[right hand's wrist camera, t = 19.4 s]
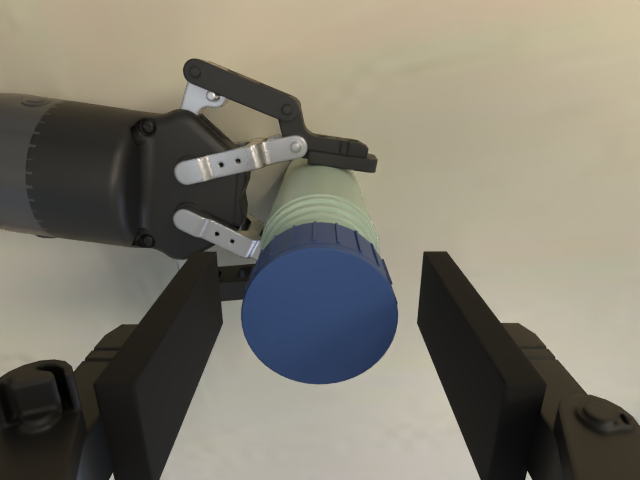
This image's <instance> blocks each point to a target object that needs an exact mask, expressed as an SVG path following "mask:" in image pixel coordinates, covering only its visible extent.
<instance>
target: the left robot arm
mask: <svg viewBox="0 0 640 480" xmlns="http://www.w3.org/2000/svg"><path fill="white" fill-rule="evenodd" d="M183 73H184V77H185V78H186V80H187V81H188V82H187V86H186V89H185V93H184V97H183V101H182V104H181V108H180V109H177V110H173V111H171V112H169V113H166V114H156V113H149V112H142V111H135V110H128V109H121V108H115V107H108V106H101V105H94V104H87V103H80V102H74V101H66V100H59V99H53V98H46V97H39V96H33V95H25V94H7V93H0V229H2V230H7V231H13V232H19V233H26V234H34V235H36V236H38V237H42V238H64V239H72V240H79V241H88V242H95V243H103V244H110V245H118V246H125V247H135V248H153V249H156V250H159V251H161V252H163V253H165V254H166V255H168V256H169V257H171V258H173V259H177V263H178V268H179V270H180V269H181V267H182V266H183V265H184V263H185V262H186V261H187V259H188V258H189V257H190V255H191V254H192V253H193V252H203V251H205V250H207V249H209V248H211V247H212V246H214V245H218V246H220V247H222V248H224V249H226V250H228V251H230V252H232V253H234V254H236V255H238V256H240V257H243V258H253V259H255V260H258V257H259V254H260V243H261V237H262V234H263V230H264V228H265V225H264V224H263V223H262V222H261V221H259V220H258V219H256V218H254V217H252V216H250V215H248V214H247V207H248V203H247V197H246V188H247V185H248V182H249V180H250V172H251V170H255V169H259V168H262V167H265V166H267V165H271V164H276V163H280V162H285V161H290V160H294V159H299V158H304V159H308V162H307V164H313V165H320V166H328V167H334V168H341V169H348V170H355V171H362V172H370V173H374V172H375V171H376V165H377V160H378V159H377V158H376V157H375V155H372V154H368V147H367V146H366V145H365V144H363V143H362V142H360V141H358V140H354V139H346V138H339V137H333V136H326V135H319V134H314V133H312V132H310V131H309V130H308V129H307V128H306V126H305V124H304V119H303V115H302V110H301V103H300V101H299V100H298V99H297V98H296V97H294V96H292V95H289V94H287V93H284V92H282V91H280V90H277V89H275V88H272V87H270V86H268V85H265V84H263V83H260V82H258V81H256V80H253V79H251V78H248V77H246V76H244V75H241V74H239V73H236V72H234V71H231V70H229V69H227V68H224V67H222V66H219V65H217V64H215V63H212V62H209V61H205V60H200V59H190V60H188V61H187V62H186V63H185V65H184V68H183ZM229 99H230V100H232V101H235V102H237V103H240V104H242V105H245V106H247V107H250V108H252V109H255V110H257V111H259V112H262V113H264V114H267V115H269V116H272V117H274V118H277V119H278V120H279V124H280V129H281V133H282V134H279V135H274V136H270V137H262V138H257V139H253V140H248V141H244V142H239V143H235V144H234V143H233V142H232V141H231V140H230V139H228V138H227V137H226V136H225V135H224V134H223V133H222V132H221V131H220V130H219V129H218V128H217V127H215V126H214V125H213V124H212V123H211V122H210V121H209V120H208V119H207V118H206V117H205V116H204V115H202V112H203V110H204V109H205V108H206V107H212V108H218V107H222V106H225V105H226V104H227V103H228V101H229ZM232 239H233V240H232ZM255 265H256V264H246V265H234V266H223V267H218V276H219V286H220V297H221V301H230V300H241V299H244V296H245V293H244V290H245V287H246V284H247V282H248V279H249V276H250V273H251V271H252V268H253V266H254V267H255Z"/></svg>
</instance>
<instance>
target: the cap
mask: <svg viewBox="0 0 640 480" xmlns="http://www.w3.org/2000/svg"><path fill="white" fill-rule="evenodd" d="M391 284H392V281H391V278H390V276H389V273H388V270H387V267H386V265H385V262H384V259H382V260H381V257H380V255H379V254H378V252H377V251H376V249H375V247H374V244H373V243H370V242H369V241H368V240H367V239H365V238H364V237H363V236H362V235H360V234H359V233H358V231H356V230H355V231H354V230H352V229H350V228H347V227H344V226H342V225H338V223H335V224H334V223H326V222H316V221H314V222H312V223H305V224H301V225H298V226H295V225H294V226H293V227H292V228H290V229H288V230H286V231H284V232H282V233H281V234H279V235H278V236H277V235H275V236H274V239H273V240H271V242H270V243H269V244H268V245H267V246H266V247H265V248H264V250H263V249H261V251H260V254H259V257H258V260H257V262H256V265H255V267H254V266H253V268H252V271H251V273H250V276H249V279H248V282H247V284H246V287H245V290H244V293H245V296H244V299H243V304H242V310H241V320H242V328H243V331H244V335H245V338H246V340H247V342H248V344H249V346H250V348H251V349H252V351H253V352H254V354H255V355H256V356H257V357H258V359H259V360H260V361H262V362H263V363H264V364H265V365H266V366H267V367H269V368H270V369H271V370H273V371H274V372H276V373H278V374H279V375H281V376H284V377H286V378H288V379H291V380H294V381H298V382H303V383H308V384H330V383H337V382H341V381H345V380H348V379H351V378H353V377H356V376H358V375H360V374H362V373H363V372H365V371H366V370H368V369H369V368H371V367H372V366H373V365H374V364H376V363H377V362H378V361H379V360H380V359H381V357H382V356H383V355H384V354H385V353H386V351H387V350H388V348H389V346H390V344H391V342H392V341H393V338H394V335H395V332H396V328H397V323H398V309H397V300H396V297H395V294H394V292H393V289H392V286H391Z"/></svg>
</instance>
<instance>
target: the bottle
mask: <svg viewBox="0 0 640 480" xmlns="http://www.w3.org/2000/svg"><path fill="white" fill-rule="evenodd" d="M307 162H308V159H304V158H299V159H294V160H292V161H291V163H290V164H289V166H288V168H287V171H286V173H285V176H284V179H283V181H282V184H281V186H280V189H279V192H278V194H277V197H276V199H275V202H274V205H273V207H272V210H271V212H270V215H269V218H268V220H267V223H266V225H265V228H264V230H263V234H262V237H261V243H260V251H261V249H263V250H264V248H265V247H266V246H267V245H268V244H269V243H270V242H271V240H273V239H274V236H275V235H277V236H278V235H279V234H281V233H282V232H284V231H286V230H288V229H290V228H292V227H293V226H294V225H295V226H298V225H301V224H305V223H312V222H314V221H316V222H326V223H334V224H335V223H338V225H342V226H344V227H347V228H350V229H352V230H354V231H355V230H356V231H358V233H359V234H360V235H362V236H363V237H364V238H365V239H367V240H368V241H369V242H370V243H373V244H374V247H375V249H376V251H377V252H378V254H379V241H378V236H377V233H376V230H375V227H374V224H373V222H372V219H371V217H370V214H369V211H368V209H367V206H366V203H365V201H364V198H363V196H362V193H361V190H360V188H359V185H358V183H357V180H356V177H355V175H354V172H353V170H348V169H341V168H334V167H328V166H320V165H313V164H307Z"/></svg>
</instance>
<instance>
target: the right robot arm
mask: <svg viewBox="0 0 640 480" xmlns="http://www.w3.org/2000/svg"><path fill="white" fill-rule="evenodd" d="M222 324H223V319H222V308H221V297H220V286H219V276H218V265H217V254H216V252H193V253H192V254H191V255H190V257H189V258H188V259H187V261H186V262H185V263H184V265H183V266H182V267H181V269H180V270H179V271H178V273H177V274H176V275H175V277H174V278H173V279H172V280H171V282H170V283H169V284H168V286H167V287H166V288H165V290H164V291H163V292H162V294H161V295H160V296H159V298H158V299H157V300H156V302H155V303H154V304H153V306H152V307H151V308H150V310H149V311H148V312H147V314H146V315H145V316H144V317H143V319H142V320H141V321H140V323H139V324H122V325H120V326H119V327H117V328H116V329H114V330H113V331H111V332H109V333H108V334H106V335H105V336H104V337H103V338H102V339H101V341H100V342H99V343H98V344H97V345H96V346H95V348H94V351H91V352H90V353H89V355H88V356H87V357H86V358H85V361H83V362H82V363H81V364H80V365H79V366H78V367H77V369H76V370H75V371H74V372H73V369H72V366H71V365H69V364H68V363H67V362H66V361H60V360H42V361H37V362H33V363H30V364H26V365H23V366H21V367H18V368H16V369H14V370H12V371H10V372H8V373H6V374H5V375H3V376H2V377H0V480H109V479H110V477H111V475H112V473H113V474H114V478H115V480H159V479H160V477H161V474H162V472H163V469H164V467H165V464H166V462H167V459H168V457H169V455H170V452H171V450H172V447H173V445H174V442H175V440H176V437H177V435H178V432H179V430H180V427H181V425H182V423H183V420H184V418H185V415H186V413H187V410H188V408H189V405H190V403H191V400H192V398H193V395H194V393H195V391H196V388H197V386H198V383H199V381H200V378H201V376H202V373H203V371H204V368H205V366H206V364H207V361H208V359H209V356H210V354H211V351H212V349H213V346H214V344H215V341H216V339H217V336H218V334H219V332H220V329H221V327H222ZM417 324H418V327H419V329H420V332H421V334H422V336H423V339H424V341H425V344H426V346H427V349H428V351H429V354H430V356H431V359H432V361H433V364H434V366H435V368H436V371H437V373H438V376H439V378H440V381H441V383H442V386H443V388H444V391H445V393H446V395H447V398H448V400H449V403H450V405H451V408H452V410H453V413H454V415H455V418H456V420H457V423H458V425H459V427H460V430H461V432H462V435H463V437H464V440H465V442H466V445H467V447H468V450H469V452H470V455H471V457H472V459H473V462H474V464H475V467H476V469H477V472H478V474H479V477H480V479H481V480H525V478H526V474H527V471H528V473H529V474H530V476H531V478H532V480H640V426H639V424H638V423H637V422H636V420H635V419H634V417H633V416H631V415H630V414H629V413H627V412H626V411H625V410H624V409H622V408H621V407H619V406H617V405H615V404H614V403H612V402H610V401H608V400H606V399H602V398H599V397H596V396H593V395H587V393H586V392H585V391H584V390H583V389H582V388H581V386H580V385H579V384H578V383H577V382H576V381H575V379H574V378H573V377H572V376H571V375H570V374H569V372H568V371H567V370H566V369H565V368H564V367H563V366H562V364H561V363H560V362H559V361H558V360H556V359H555V356H554V355H553V354H552V353H551V352H550V350H549V349H546V346H545V345H544V343H543V342H542V341H541V340H540V339H539V338H538V337H537V335H536V334H535V333H533V332H531V331H530V330H528V329H527V328H525V327H524V326H522V325H520V324H519V323H500V321H499V320H498V319H497V317H496V316H495V315H494V314H493V312H492V311H491V310H490V308H489V307H488V306H487V304H486V303H485V302H484V300H483V299H482V298H481V296H480V295H479V294H478V292H477V291H476V290H475V288H474V287H473V286H472V284H471V283H470V282H469V280H468V279H467V278H466V277H465V275H464V274H463V273H462V271H461V270H460V269H459V267H458V266H457V265H456V263H455V262H454V261H453V259H452V258H451V257H450V255H449V254H448V253H447V252H424V254H423V265H422V275H421V286H420V297H419V308H418V319H417Z"/></svg>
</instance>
